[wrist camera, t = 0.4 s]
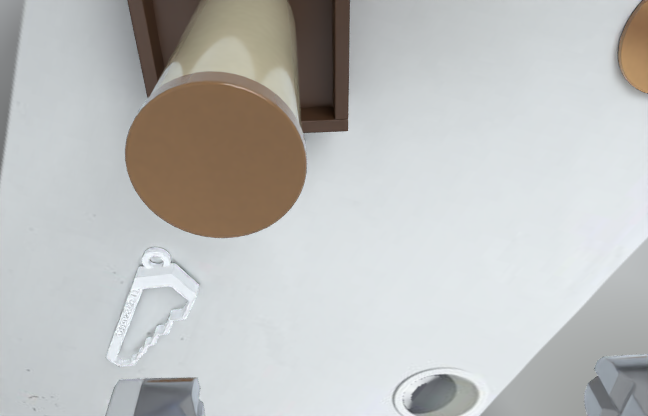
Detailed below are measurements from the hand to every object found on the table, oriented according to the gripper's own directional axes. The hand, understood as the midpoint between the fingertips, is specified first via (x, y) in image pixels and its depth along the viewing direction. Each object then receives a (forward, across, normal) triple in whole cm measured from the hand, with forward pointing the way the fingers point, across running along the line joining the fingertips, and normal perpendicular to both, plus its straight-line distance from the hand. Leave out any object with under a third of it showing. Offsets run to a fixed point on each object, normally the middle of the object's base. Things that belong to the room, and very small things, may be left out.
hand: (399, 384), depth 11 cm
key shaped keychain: (+28, +14, +24) cm, 39 cm away
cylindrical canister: (+25, +5, 0) cm, 25 cm away
